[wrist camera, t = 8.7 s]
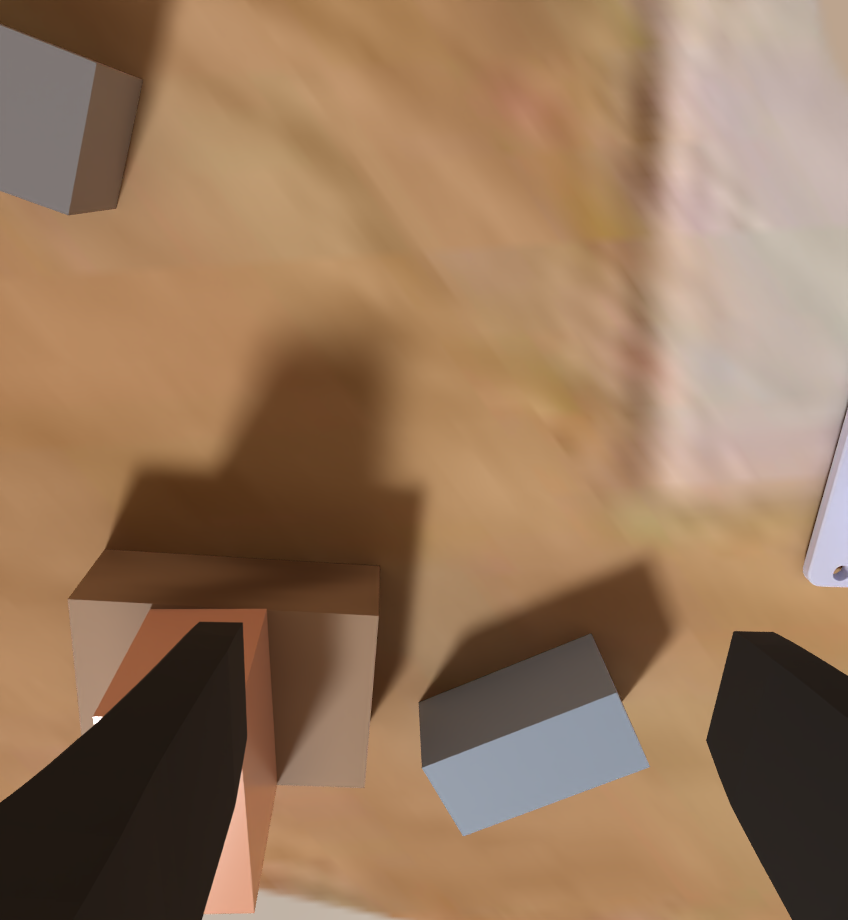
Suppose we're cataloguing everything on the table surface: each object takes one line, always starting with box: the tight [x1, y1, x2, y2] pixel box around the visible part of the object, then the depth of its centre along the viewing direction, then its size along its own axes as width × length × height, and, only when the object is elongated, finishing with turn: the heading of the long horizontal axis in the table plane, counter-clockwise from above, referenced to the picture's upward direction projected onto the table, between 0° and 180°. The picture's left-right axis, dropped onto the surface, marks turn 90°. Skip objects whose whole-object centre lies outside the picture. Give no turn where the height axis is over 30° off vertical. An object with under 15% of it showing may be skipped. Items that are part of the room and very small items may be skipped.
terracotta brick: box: [93, 609, 277, 914], centre depth 18 cm, size 3×6×4 cm, turn 178°
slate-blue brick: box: [419, 634, 650, 836], centre depth 23 cm, size 6×3×3 cm, turn 114°
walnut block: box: [68, 549, 380, 788], centre depth 22 cm, size 8×6×3 cm
